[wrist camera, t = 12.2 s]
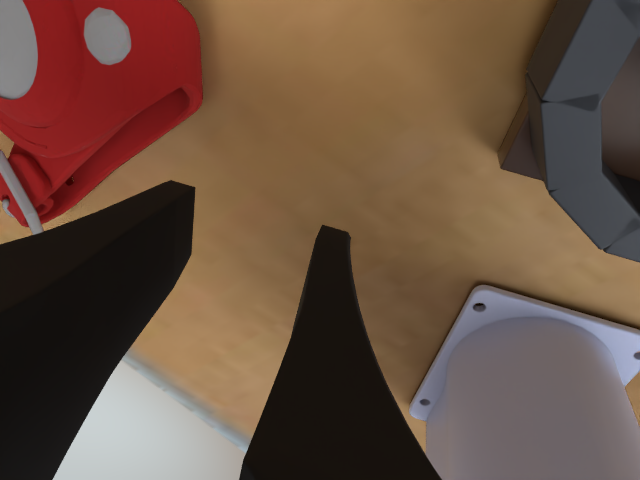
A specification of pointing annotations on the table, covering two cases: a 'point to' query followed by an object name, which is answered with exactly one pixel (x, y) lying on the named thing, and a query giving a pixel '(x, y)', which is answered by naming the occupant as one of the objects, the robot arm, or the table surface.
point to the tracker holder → (87, 93)
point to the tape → (584, 117)
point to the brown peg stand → (617, 128)
